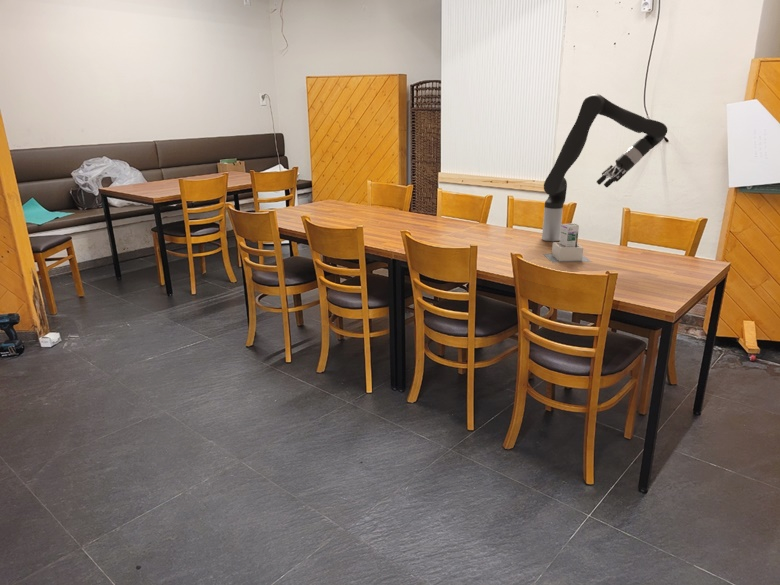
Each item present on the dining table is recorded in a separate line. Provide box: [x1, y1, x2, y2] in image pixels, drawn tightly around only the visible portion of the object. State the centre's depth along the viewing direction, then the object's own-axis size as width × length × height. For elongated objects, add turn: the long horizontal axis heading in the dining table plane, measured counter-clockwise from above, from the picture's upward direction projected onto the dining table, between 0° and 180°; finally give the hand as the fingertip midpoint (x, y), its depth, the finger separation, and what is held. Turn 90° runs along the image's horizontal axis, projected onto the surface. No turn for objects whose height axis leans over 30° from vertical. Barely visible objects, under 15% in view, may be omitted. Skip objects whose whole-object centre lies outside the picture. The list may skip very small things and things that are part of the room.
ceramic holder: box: [551, 241, 584, 261], centre depth 251 cm, size 10×10×6 cm
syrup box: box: [559, 222, 580, 248], centre depth 249 cm, size 6×6×14 cm
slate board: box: [542, 253, 593, 264], centre depth 252 cm, size 14×18×2 cm
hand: (601, 184), depth 255 cm, fingers open, 8 cm apart
